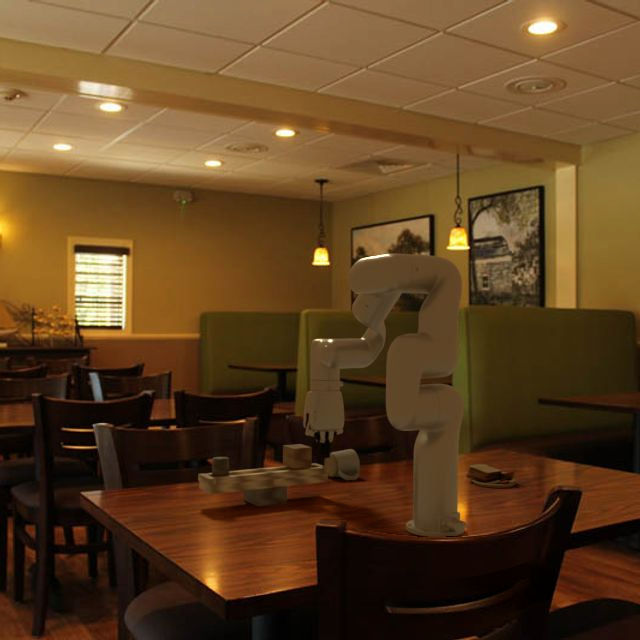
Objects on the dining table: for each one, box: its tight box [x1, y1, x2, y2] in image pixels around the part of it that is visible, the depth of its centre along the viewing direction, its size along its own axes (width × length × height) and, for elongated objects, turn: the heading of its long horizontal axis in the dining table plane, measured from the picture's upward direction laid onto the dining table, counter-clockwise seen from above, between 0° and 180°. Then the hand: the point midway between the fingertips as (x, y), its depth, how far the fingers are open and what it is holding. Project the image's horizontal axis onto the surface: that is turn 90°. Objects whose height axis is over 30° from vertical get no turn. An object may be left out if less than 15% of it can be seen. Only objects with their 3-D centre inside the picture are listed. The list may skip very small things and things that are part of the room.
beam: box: [197, 456, 329, 507], centre depth 201 cm, size 33×8×12 cm, turn 120°
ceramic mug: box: [324, 448, 361, 481], centre depth 232 cm, size 11×8×8 cm
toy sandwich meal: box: [466, 463, 518, 489], centre depth 226 cm, size 12×14×5 cm
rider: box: [282, 443, 313, 470], centre depth 206 cm, size 5×6×7 cm
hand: (324, 457), depth 210 cm, fingers closed
